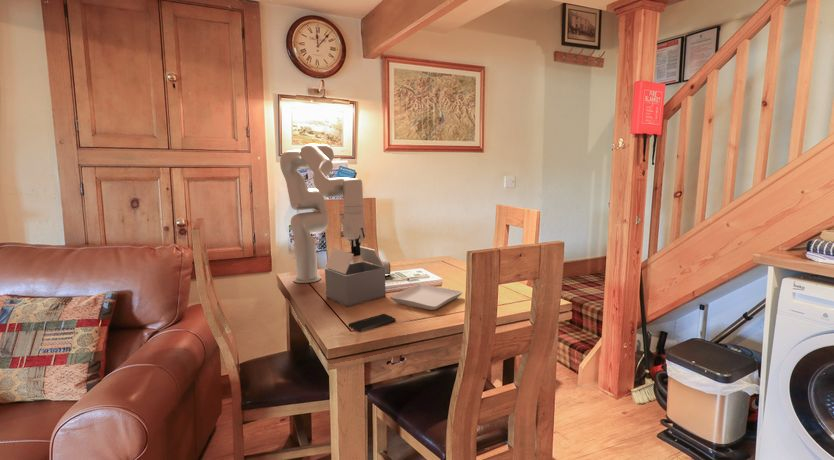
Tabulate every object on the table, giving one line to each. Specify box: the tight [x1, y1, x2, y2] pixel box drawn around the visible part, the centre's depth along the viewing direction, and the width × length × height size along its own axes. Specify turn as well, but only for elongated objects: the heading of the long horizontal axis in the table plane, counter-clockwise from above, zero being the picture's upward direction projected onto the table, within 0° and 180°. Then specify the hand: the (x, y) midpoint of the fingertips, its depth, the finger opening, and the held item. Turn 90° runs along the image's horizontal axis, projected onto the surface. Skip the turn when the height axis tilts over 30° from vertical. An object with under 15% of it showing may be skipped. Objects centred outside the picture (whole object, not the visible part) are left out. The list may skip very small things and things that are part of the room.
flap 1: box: [324, 248, 354, 274], centre depth 172 cm, size 15×8×1 cm
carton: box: [324, 260, 387, 308], centre depth 178 cm, size 16×18×12 cm
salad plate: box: [389, 284, 463, 311], centre depth 171 cm, size 21×21×3 cm
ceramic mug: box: [372, 260, 391, 275], centre depth 210 cm, size 11×8×8 cm
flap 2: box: [359, 246, 384, 266], centre depth 181 cm, size 15×8×1 cm
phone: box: [348, 313, 397, 333], centre depth 149 cm, size 8×1×15 cm
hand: (356, 255), depth 177 cm, fingers closed
